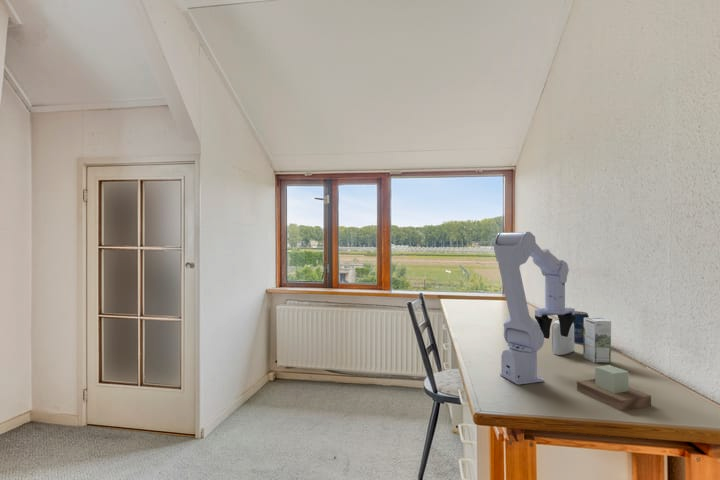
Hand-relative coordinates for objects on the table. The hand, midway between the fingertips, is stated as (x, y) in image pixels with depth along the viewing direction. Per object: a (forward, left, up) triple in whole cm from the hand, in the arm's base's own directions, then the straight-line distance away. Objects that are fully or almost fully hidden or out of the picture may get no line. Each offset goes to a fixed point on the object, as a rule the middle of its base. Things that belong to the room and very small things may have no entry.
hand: (555, 336), depth 113 cm
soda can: (+32, +19, -10) cm, 38 cm away
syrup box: (+18, 0, -10) cm, 20 cm away
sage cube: (-5, -23, -7) cm, 25 cm away
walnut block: (-5, -23, -10) cm, 26 cm away
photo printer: (+14, +10, -10) cm, 20 cm away
